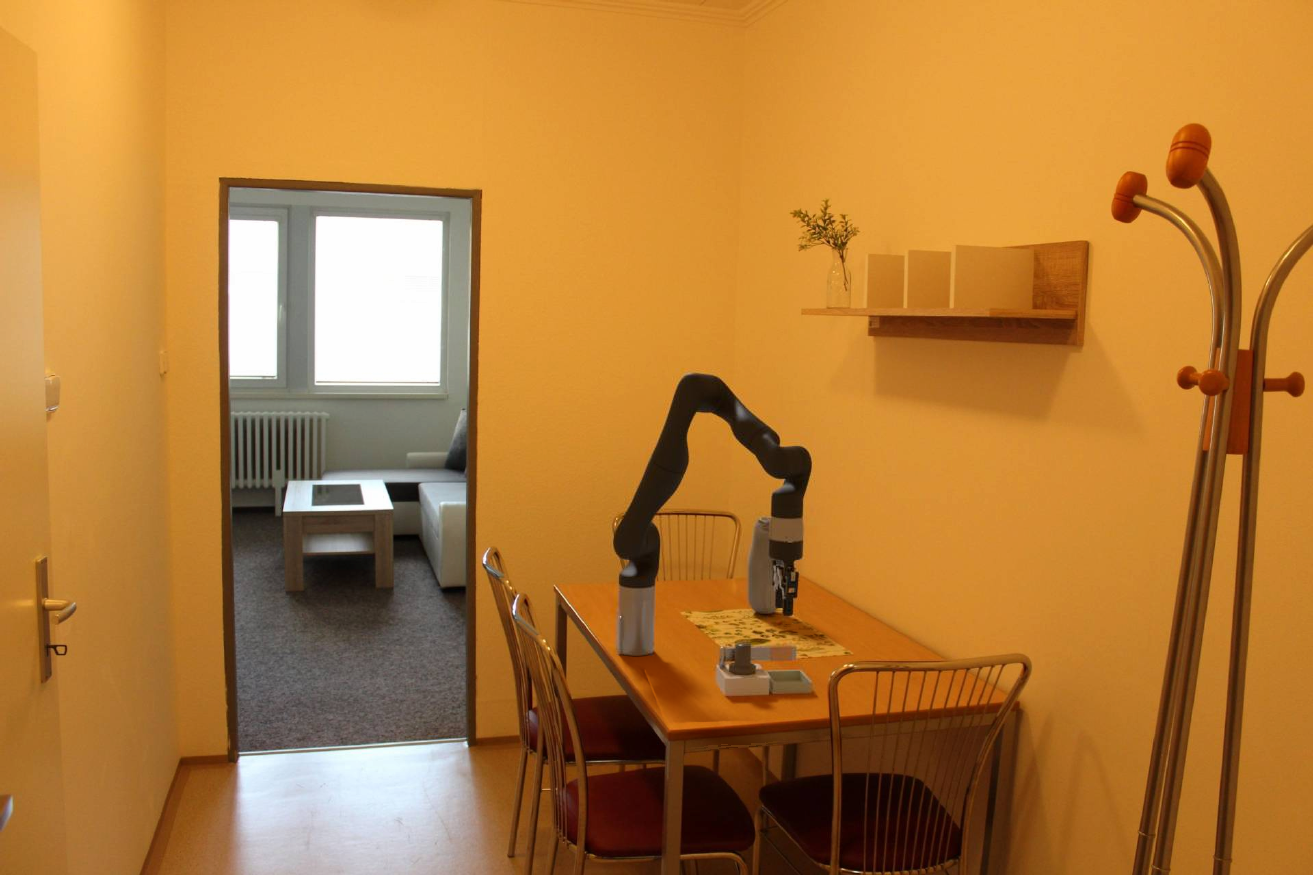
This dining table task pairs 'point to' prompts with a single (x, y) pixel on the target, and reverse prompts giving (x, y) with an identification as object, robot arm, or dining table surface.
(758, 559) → the grey bottle
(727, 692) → the socket block
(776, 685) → the tray
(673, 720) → the dining table surface
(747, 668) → the plug
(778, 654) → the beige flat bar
